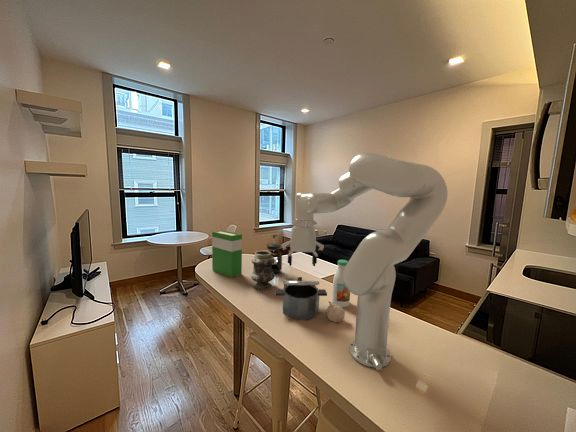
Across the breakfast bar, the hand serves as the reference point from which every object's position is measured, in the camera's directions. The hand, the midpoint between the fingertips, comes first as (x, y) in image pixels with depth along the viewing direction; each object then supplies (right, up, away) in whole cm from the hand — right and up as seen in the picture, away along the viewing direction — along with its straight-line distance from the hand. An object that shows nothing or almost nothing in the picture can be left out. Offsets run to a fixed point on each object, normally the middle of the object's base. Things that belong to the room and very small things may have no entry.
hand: (301, 264), depth 99 cm
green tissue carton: (-42, -14, +45) cm, 63 cm away
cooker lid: (0, -9, +3) cm, 9 cm away
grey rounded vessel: (-19, -17, +27) cm, 37 cm away
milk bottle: (+18, -20, +10) cm, 29 cm away
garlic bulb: (+13, -21, -4) cm, 25 cm away
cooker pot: (-1, -20, +3) cm, 20 cm away
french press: (-14, -14, +48) cm, 52 cm away
